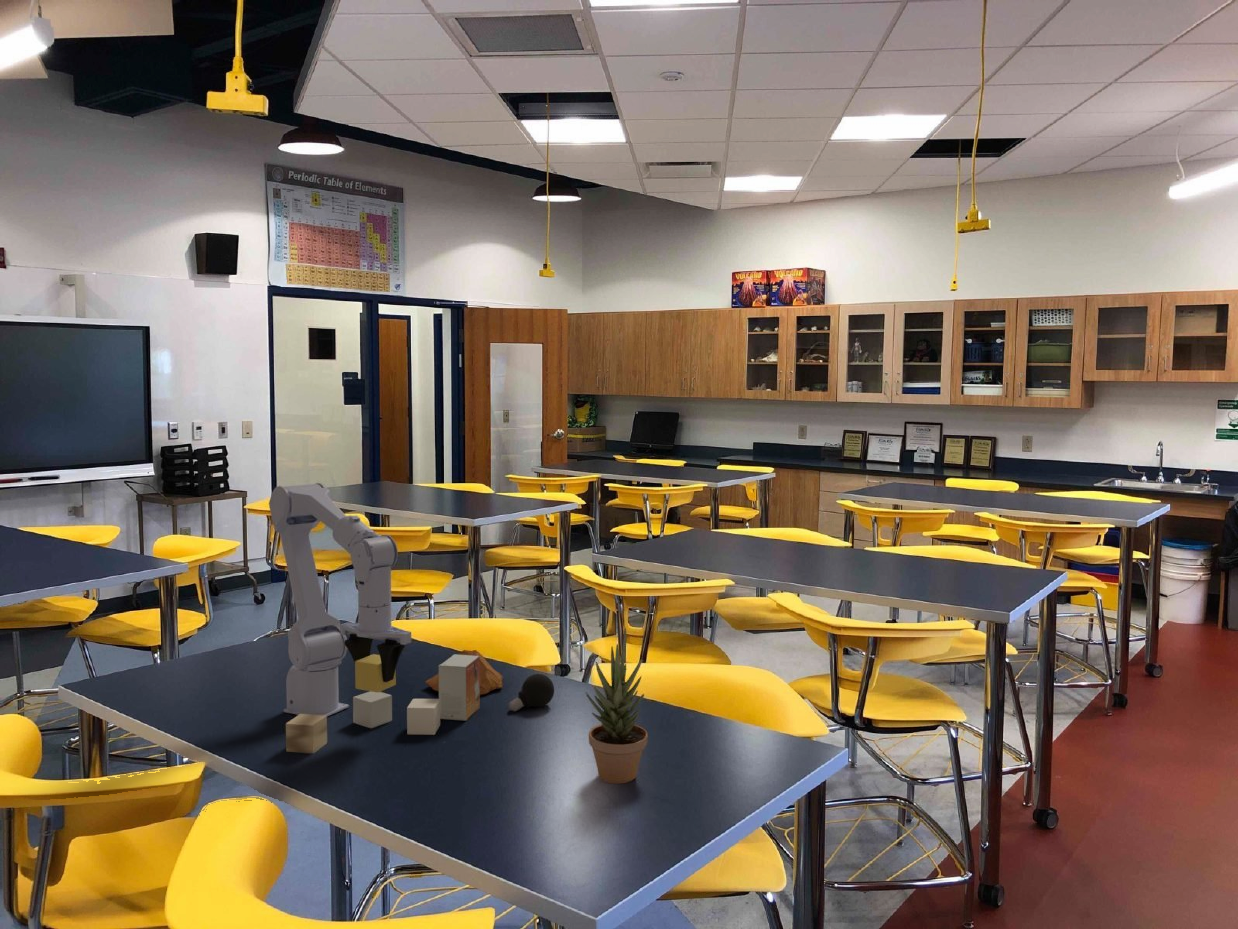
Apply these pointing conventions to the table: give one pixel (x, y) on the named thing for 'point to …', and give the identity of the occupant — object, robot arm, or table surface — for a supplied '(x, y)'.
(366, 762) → the table surface
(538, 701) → the light bulb
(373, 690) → the mustard cube
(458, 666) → the small box
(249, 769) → the table surface
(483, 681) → the stone
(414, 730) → the white cube
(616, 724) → the potted plant
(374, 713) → the grey cube
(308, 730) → the maple cube
